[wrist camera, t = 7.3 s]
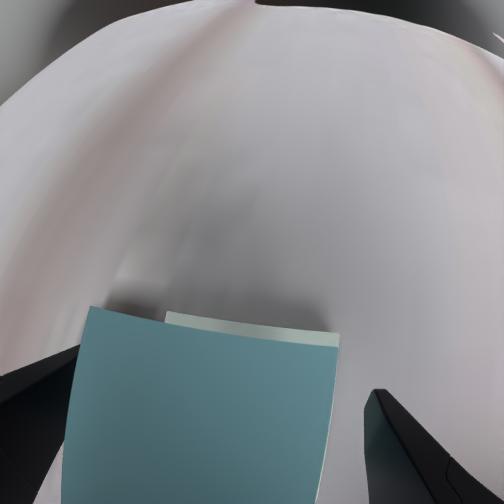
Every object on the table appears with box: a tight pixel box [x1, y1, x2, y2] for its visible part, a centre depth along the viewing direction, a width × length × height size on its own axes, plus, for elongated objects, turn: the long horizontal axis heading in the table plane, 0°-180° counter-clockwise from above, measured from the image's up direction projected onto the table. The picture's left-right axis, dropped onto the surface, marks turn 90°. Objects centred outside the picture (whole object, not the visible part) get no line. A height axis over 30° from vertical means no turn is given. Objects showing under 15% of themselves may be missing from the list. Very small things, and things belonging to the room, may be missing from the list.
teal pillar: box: [61, 306, 338, 504], centre depth 9 cm, size 4×4×12 cm
